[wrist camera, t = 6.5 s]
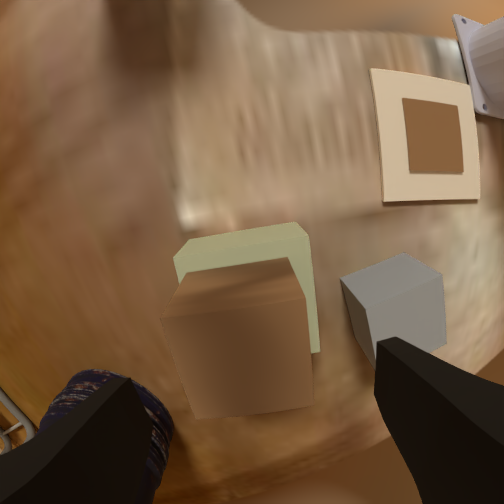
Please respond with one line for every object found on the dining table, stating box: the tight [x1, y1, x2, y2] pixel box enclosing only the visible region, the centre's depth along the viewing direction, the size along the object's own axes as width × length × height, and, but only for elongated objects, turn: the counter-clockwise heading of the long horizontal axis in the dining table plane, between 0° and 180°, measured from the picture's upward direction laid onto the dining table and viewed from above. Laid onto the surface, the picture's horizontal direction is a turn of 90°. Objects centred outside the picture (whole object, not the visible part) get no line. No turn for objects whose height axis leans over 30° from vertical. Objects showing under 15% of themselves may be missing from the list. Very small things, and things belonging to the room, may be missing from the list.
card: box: [369, 68, 480, 202], centre depth 15 cm, size 8×8×1 cm
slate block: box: [340, 253, 446, 370], centre depth 16 cm, size 4×4×4 cm
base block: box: [173, 222, 320, 353], centre depth 16 cm, size 6×6×4 cm
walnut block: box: [160, 257, 315, 419], centre depth 12 cm, size 4×4×4 cm
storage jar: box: [33, 369, 173, 504], centre depth 13 cm, size 10×10×15 cm
